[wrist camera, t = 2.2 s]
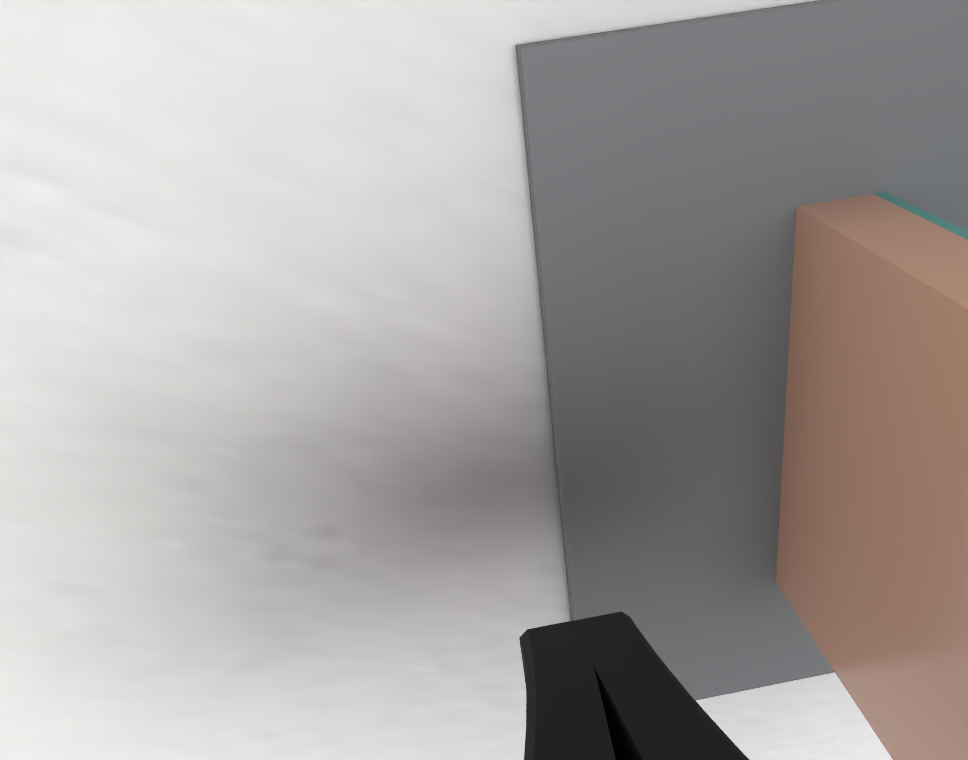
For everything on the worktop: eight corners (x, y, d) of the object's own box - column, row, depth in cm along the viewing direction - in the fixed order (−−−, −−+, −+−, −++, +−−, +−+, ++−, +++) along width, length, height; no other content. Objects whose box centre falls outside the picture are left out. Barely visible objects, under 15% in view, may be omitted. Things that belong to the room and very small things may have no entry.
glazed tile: (884, 191, 14) (1309, 393, 8) (845, 568, 18) (1110, 906, 12) (796, 206, 14) (1155, 422, 8) (775, 582, 18) (1005, 930, 11)
